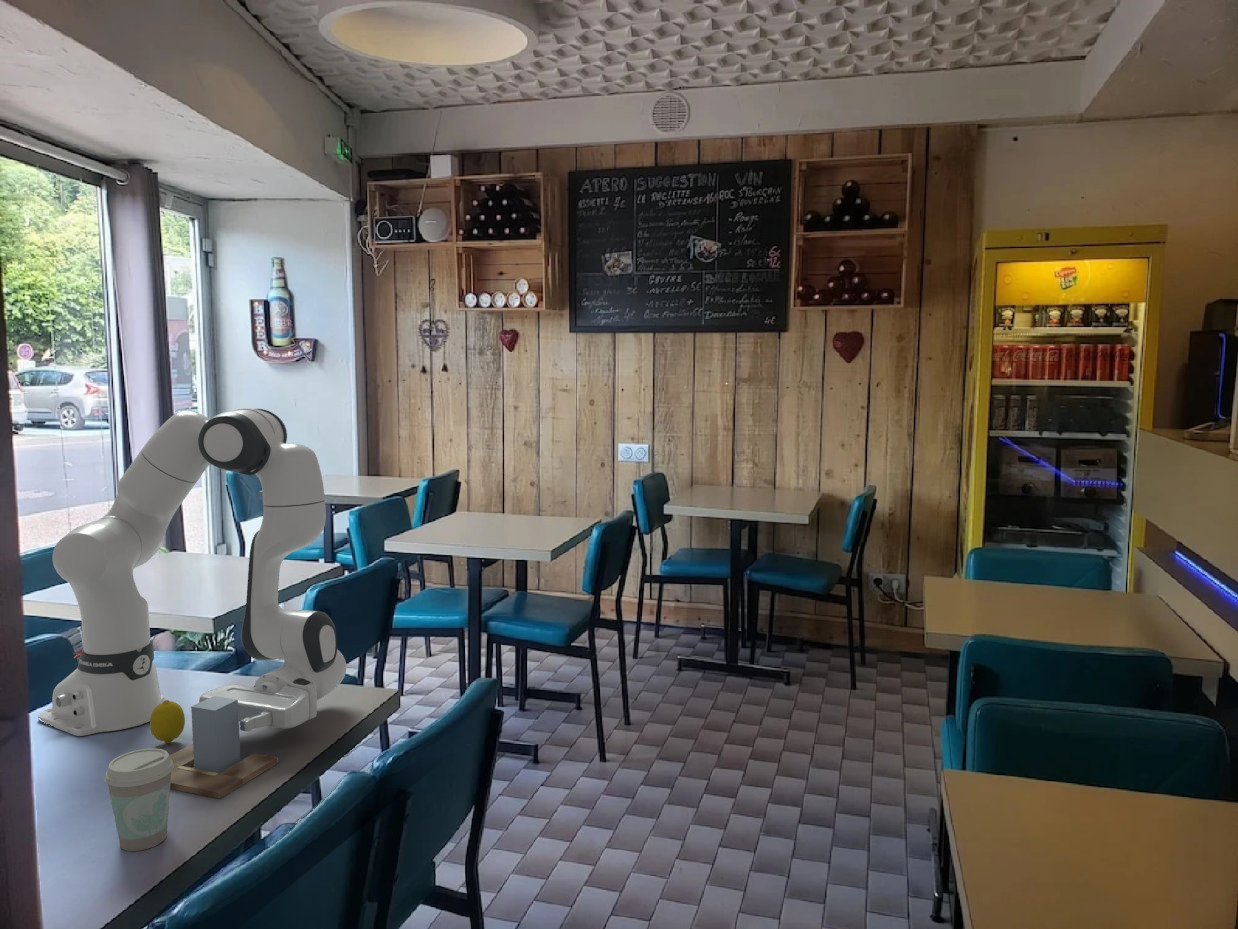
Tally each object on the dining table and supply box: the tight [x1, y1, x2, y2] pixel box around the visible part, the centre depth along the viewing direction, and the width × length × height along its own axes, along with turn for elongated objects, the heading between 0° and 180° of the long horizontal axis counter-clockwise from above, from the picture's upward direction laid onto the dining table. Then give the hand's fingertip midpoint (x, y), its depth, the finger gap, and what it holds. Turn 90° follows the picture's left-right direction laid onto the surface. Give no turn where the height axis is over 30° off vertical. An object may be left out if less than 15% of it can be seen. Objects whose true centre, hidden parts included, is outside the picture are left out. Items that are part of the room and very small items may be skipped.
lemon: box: [149, 699, 186, 744], centre depth 154 cm, size 6×6×8 cm
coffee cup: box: [104, 748, 174, 852], centre depth 121 cm, size 8×9×12 cm
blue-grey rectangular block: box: [190, 696, 241, 774], centre depth 145 cm, size 5×5×11 cm
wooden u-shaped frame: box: [169, 743, 279, 800], centre depth 143 cm, size 18×13×1 cm
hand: (220, 723), depth 146 cm, fingers open, 8 cm apart
